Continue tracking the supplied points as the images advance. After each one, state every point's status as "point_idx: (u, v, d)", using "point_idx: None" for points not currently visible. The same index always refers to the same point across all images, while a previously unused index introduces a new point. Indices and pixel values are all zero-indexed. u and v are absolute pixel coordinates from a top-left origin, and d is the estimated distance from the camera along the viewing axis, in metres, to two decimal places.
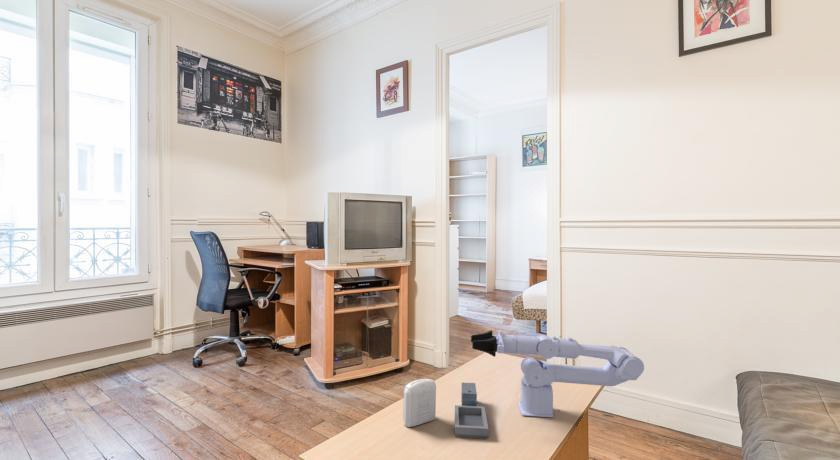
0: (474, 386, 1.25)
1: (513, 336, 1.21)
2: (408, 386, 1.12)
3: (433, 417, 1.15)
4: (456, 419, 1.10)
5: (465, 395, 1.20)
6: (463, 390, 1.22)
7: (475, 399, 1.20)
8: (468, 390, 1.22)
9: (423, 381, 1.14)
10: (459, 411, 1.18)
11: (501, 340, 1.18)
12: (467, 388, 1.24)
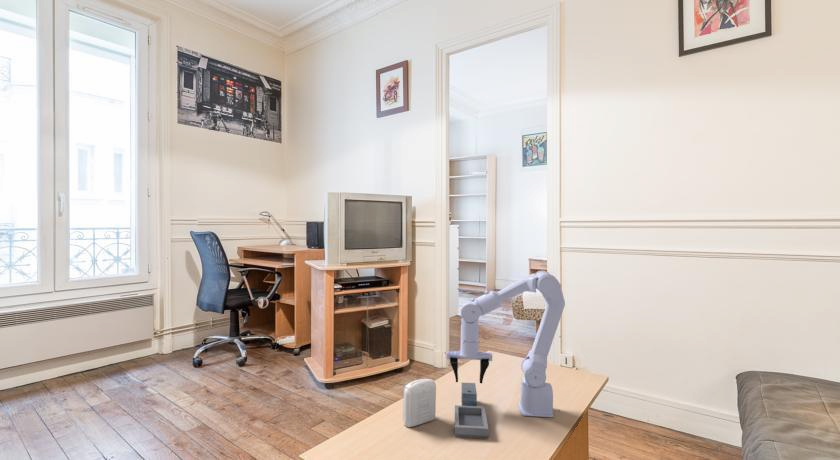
0: (474, 386, 1.25)
1: None
2: (408, 386, 1.12)
3: (433, 417, 1.15)
4: (456, 419, 1.10)
5: (465, 395, 1.20)
6: (463, 390, 1.22)
7: (475, 399, 1.20)
8: (468, 390, 1.22)
9: (423, 381, 1.14)
10: (459, 411, 1.18)
11: None
12: (467, 388, 1.24)
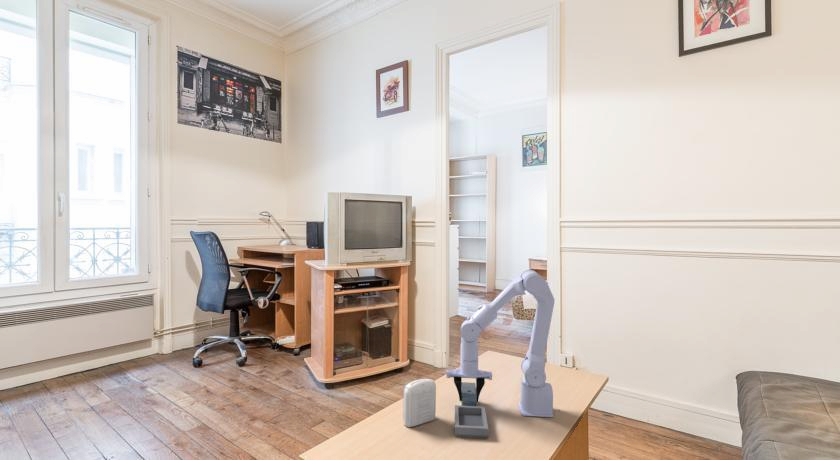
0: (474, 386, 1.25)
1: None
2: (408, 386, 1.12)
3: (433, 417, 1.15)
4: (456, 419, 1.10)
5: (465, 394, 1.20)
6: (463, 390, 1.22)
7: (475, 399, 1.20)
8: (468, 390, 1.22)
9: (423, 381, 1.14)
10: (459, 411, 1.18)
11: None
12: (467, 387, 1.24)
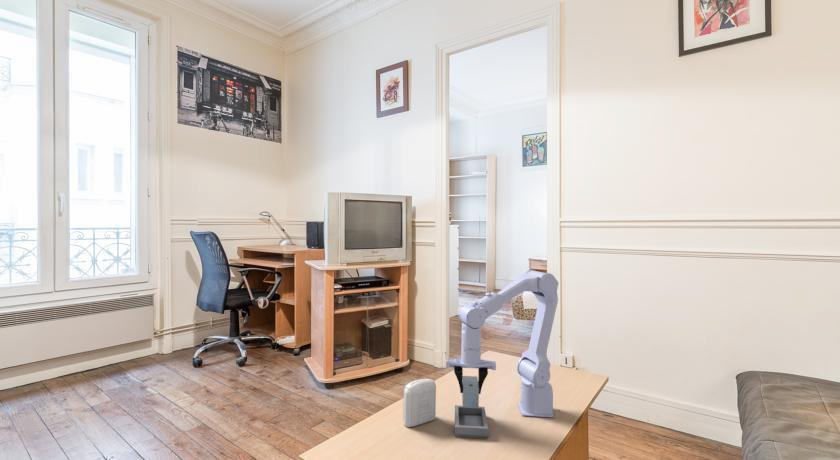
0: (476, 380, 1.16)
1: None
2: (408, 386, 1.12)
3: (433, 417, 1.15)
4: (456, 419, 1.10)
5: (467, 388, 1.11)
6: (464, 384, 1.13)
7: (477, 393, 1.10)
8: (469, 384, 1.13)
9: (423, 381, 1.14)
10: (459, 411, 1.18)
11: None
12: (468, 381, 1.14)
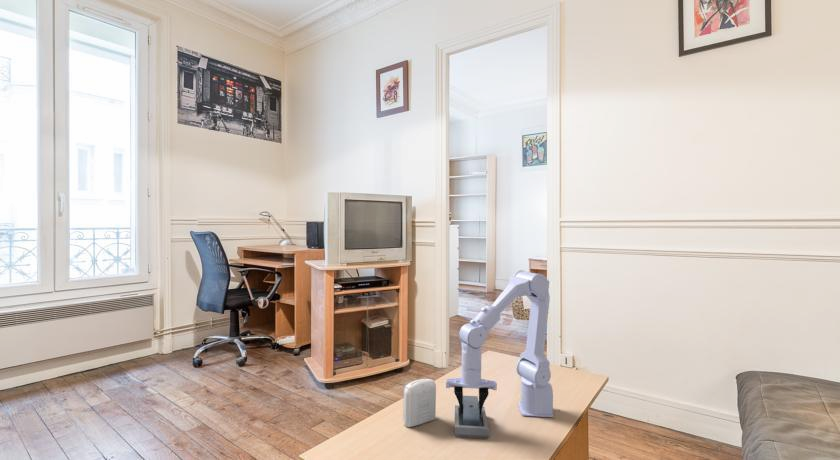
0: (476, 400, 1.14)
1: None
2: (408, 386, 1.12)
3: (433, 417, 1.15)
4: (456, 419, 1.10)
5: (467, 410, 1.09)
6: (464, 405, 1.11)
7: (478, 415, 1.08)
8: (470, 405, 1.11)
9: (423, 381, 1.14)
10: (459, 411, 1.18)
11: None
12: (468, 402, 1.12)
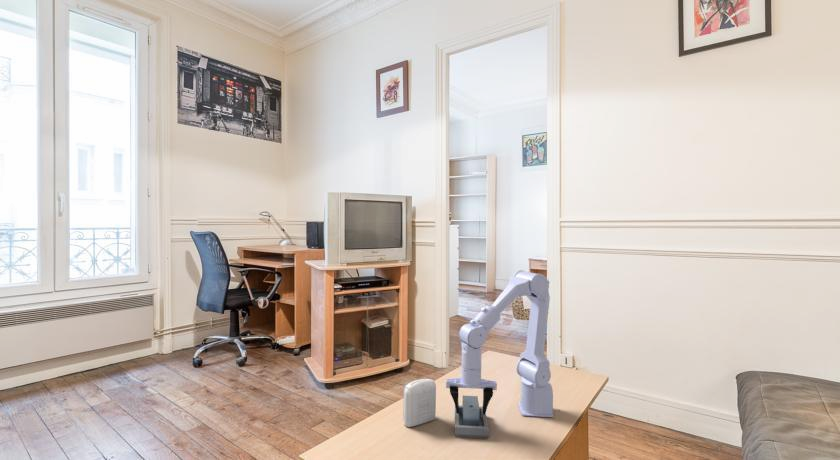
0: (476, 400, 1.14)
1: None
2: (408, 386, 1.12)
3: (433, 417, 1.15)
4: (456, 419, 1.10)
5: (467, 410, 1.09)
6: (464, 405, 1.11)
7: (478, 415, 1.08)
8: (470, 405, 1.11)
9: (423, 381, 1.14)
10: (459, 411, 1.18)
11: None
12: (468, 402, 1.12)
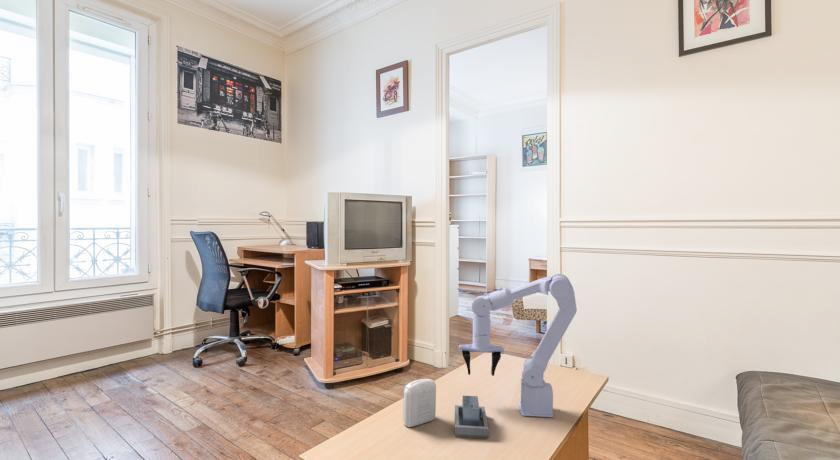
0: (476, 400, 1.14)
1: None
2: (408, 386, 1.12)
3: (433, 417, 1.15)
4: (456, 419, 1.10)
5: (467, 410, 1.09)
6: (464, 405, 1.11)
7: (478, 415, 1.08)
8: (470, 405, 1.11)
9: (423, 381, 1.14)
10: (459, 411, 1.18)
11: None
12: (468, 402, 1.12)
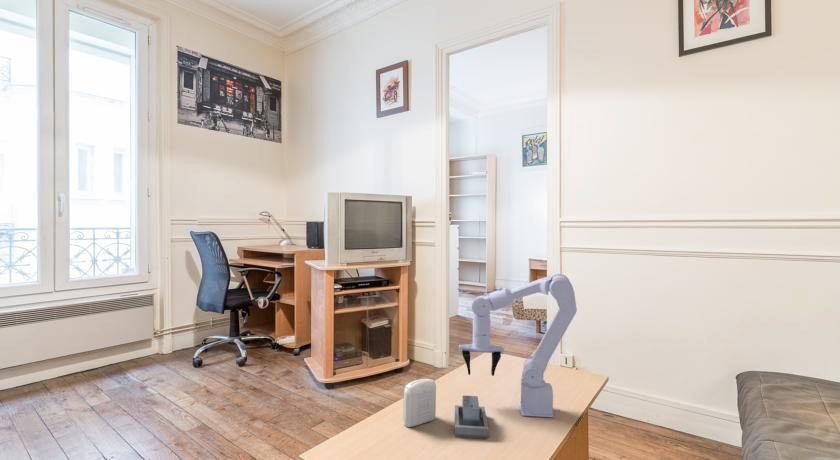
0: (476, 400, 1.14)
1: None
2: (408, 386, 1.12)
3: (433, 417, 1.15)
4: (456, 419, 1.10)
5: (467, 410, 1.09)
6: (464, 405, 1.11)
7: (478, 415, 1.08)
8: (470, 405, 1.11)
9: (423, 381, 1.14)
10: (459, 411, 1.18)
11: None
12: (468, 402, 1.12)
